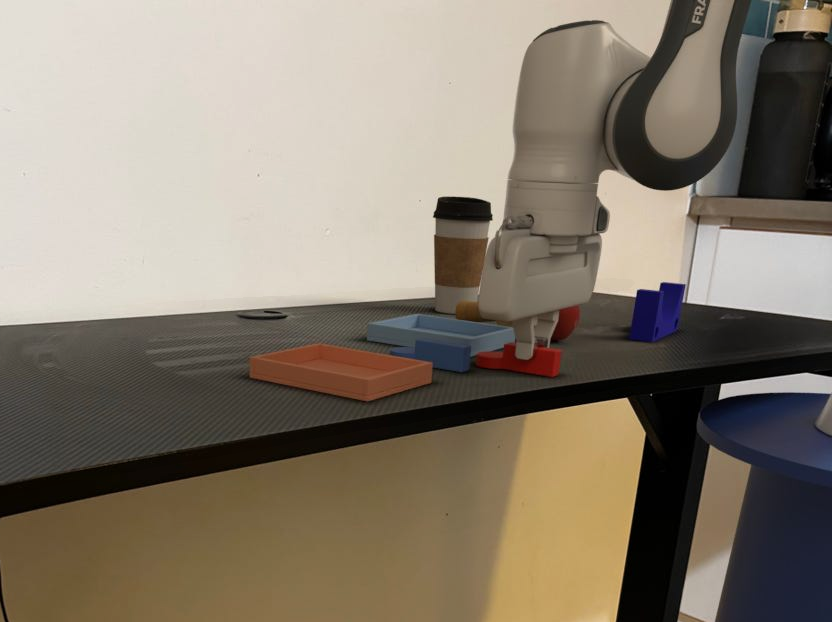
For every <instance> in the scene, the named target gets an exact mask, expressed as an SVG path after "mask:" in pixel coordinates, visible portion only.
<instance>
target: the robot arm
mask: <svg viewBox="0 0 832 622" xmlns="http://www.w3.org/2000/svg"><path fill="white" fill-rule="evenodd" d="M751 4H752V0H670V2H669V6H668V10H667V14H666V17H665V22H664V24H663V28H662V32H661V36H660V39H659V42H658V44H657V46H656V48H655V50H654V52H653V53H652V56H649V55H647V54H645V53H644V52H642V51H640V50H639V49H638V48H636V47H635V46H633V45H632V44H631V43H629V42H628V41H627V40H625V38H623V37H622V36H621V35H620V34H618V33H617V32H616V31H615V29H614V28H613V26H612V25H611V24H610V23H609V22H607V21H604V20H599V19H593V20H580V21H574V22H569V23H563V24H560V25H557V26H555V27H550V28H548V29H545V30H544V31H542V32H541V33H540V34H538V35H537V36H536V37H535V38H533V40H532V41H531V42H530V44H529V45H528V46H527V48H526V50H525V53H524V56H523V59H522V63H521V67H520V71H519V77H518V84H517V88H516V93H515V100H514V101H515V102H514V111H513V120H512V138H513V146H514V147H513V158H512V162H511V164H510V167H509V170H508V174H507V178H506V179H507V180H506V190H505V201H504V208H503V209H504V210H503V220H502V224H501V225H500V226H499V229H498V230H496V232H495V235H494V237H492V239H491V240H490V242H488V245H487V250H486V255H485V260H484V266H483V271H482V277H481V282H480V286H479V292H478V299H477V302H478V308H479V312H480V315H481V317H482V318H485V319H491V320H497V321H506V322H509V321H513V323H512V325H513V330H514V334H515V343H516V351H515V356H516V357H517V358H518V359H524V360H529V359H532V358H534V357H535V356H536V353H537V351H536V350H537V346H538V347H545V348H550V345H551V340H550V338H551V336H552V334H553V332H554V329H555V327H556V324H557V322H558V318H559V310H561V309H566V308H570V307H574V306H579V307H580V306H582V305H586V304H588V303H589V302H590V300H591V297H592V295H593V294H594V290H595V286H596V282H597V277H598V273H599V272H598V271H599V267H600V260H601V256H602V249H603V239H602V235H601V234H604V233H606V232H608V230H609V225H610V220H611V214H610V213H611V211H610V209H608V208H607V207H606V206H605V205H604V204H603V203H602V201H601V199H600V198H599V196H598V189H599V188H598V187H599V181H600V176H601V174H602V173H603V172H605V171H613V172H616V173H618V174H619V175H621V176H623V177H625V178H627V179H630V180H632V181H635V182H636V183H638V184H639V185H641V186H643V187H644V188H645V187H646V188H648V189H650V190H655V191H660V192H661V191H664V192H666V191H667V192H668V191H669V192H670V191H676V190H682V189H684V188H686V187H689V186H691V185H693V184H696V183H697V182H699V181H700V180H702V179H703V178H705V177H706V176H708V175H709V173H711V172H712V171H713V170H714V169H715V168H716V166H718V164H720V162H721V161H722V159H723V158H724V156H725V155H726V153H727V151H728V150H729V148H730V146H731V143H732V140H733V138H734V135H735V131H736V127H737V120H738V91H737V61H738V54H739V53H738V52H739V47H740V43H741V39H742V36H743V31H744V28H745V25H746V22H747V18H748V15H749V11H750V7H751ZM497 321H496V322H497ZM534 326H535V329H534ZM830 394H831V395H830V397H829V399H828V401H827V403H826V405H825V406H824V408H823V410H822V412H821V413H820V415H819V417H818V418H817V420H816V421H815V426H816V427H817V428H818V429H819V430H821V431H822V432H824V433H826V434H828V435H830V436H832V392H831V393H830Z"/></svg>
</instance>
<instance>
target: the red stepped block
mask: <svg viewBox="0 0 832 622" xmlns="http://www.w3.org/2000/svg"><path fill="white" fill-rule="evenodd" d="M515 351H516V342H515V343H512V342H511V343H507V344H504V348H503V350H502V352H501V351H486V352H479V353H477V355H476V359H475V365H476V367H479V368H483V369H490V370H506V371H512V372H518V373H519V372H520V373H524V374H531V375H536V376H542V377H549V378H553V377H556V376H559V374H560V366H561V359H562V352H563V351H562V349H558V348H550V347H549V348H545V347H538V346H537V350H536V351H537V353H536V356H535V357H534V358H532V359H529V360H524V359H518V358H517V357H516V356H515Z"/></svg>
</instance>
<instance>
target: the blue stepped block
mask: <svg viewBox="0 0 832 622" xmlns="http://www.w3.org/2000/svg"><path fill="white" fill-rule="evenodd" d="M470 354H471V345H465V344H458V343H452V342H446V341H439V340H433V339H426V338H421V339H417V340H416V341H415V348H411V347H405V346H397V347H392V348H389V355H391V356H397V357H403V358H409V359H415V360H421V361H426V362H432V363H433V366H432V369H433V368H434V369H439V370H444V371H445V370H446V371H450V372H454V373H455V372H457V373H465V372H468V371H470V365H471V357H470Z"/></svg>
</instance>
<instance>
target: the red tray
mask: <svg viewBox="0 0 832 622" xmlns="http://www.w3.org/2000/svg"><path fill="white" fill-rule="evenodd" d="M432 366H433V363H432V362H426V361H421V360H415V359H409V358H403V357H397V356H391V355H390V354H386V353H385V354H384V353H379V352H374V351H367V350H363V349H357V348H356V349H355V348H350V347H344V346H338V345H332V344H327V343H321V342H316V343H313V344H312V343H311V344H308V345H303V346H298V347H293V348H288V349H287V348H286V349H283V350H278V351H273V352H269V353H264V354H258V355H253V356H250V357H249V378H250V379H253V380H259V381H264V382H270V383H273V384H279V385H284V386H288V387H294V388H299V389H304V390H309V391H314V392H319V393H323V394H328V395H333V396H338V397H341V398H342V397H343V398H347V399H348V398H349V399H352V400H357V401H362V402H371V401H374V400H378V399H381V398H385V397H387V396H388V397H389V396H391V395H395V394H398V393H401V392H404V391H408V390H412V389H415V388H418V387H421V386H424V385H429V384H431V383H432V381H433V380H432V379H433V377H432V376H433V367H432Z"/></svg>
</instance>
